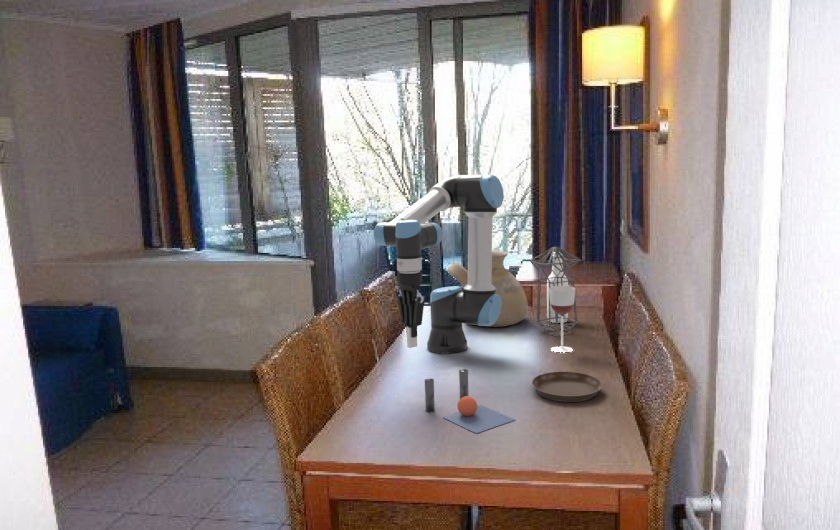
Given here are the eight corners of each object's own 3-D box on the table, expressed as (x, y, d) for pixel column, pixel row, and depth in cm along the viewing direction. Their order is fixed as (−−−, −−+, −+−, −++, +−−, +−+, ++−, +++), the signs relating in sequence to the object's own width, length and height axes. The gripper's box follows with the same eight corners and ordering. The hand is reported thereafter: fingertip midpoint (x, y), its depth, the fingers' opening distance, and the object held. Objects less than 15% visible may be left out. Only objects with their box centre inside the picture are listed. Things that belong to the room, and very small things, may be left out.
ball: (467, 417, 182) (455, 418, 186) (482, 413, 185) (470, 414, 190) (463, 397, 183) (451, 398, 187) (479, 393, 186) (467, 395, 190)
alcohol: (546, 318, 292) (546, 250, 287) (567, 318, 291) (567, 250, 286) (547, 323, 283) (547, 253, 279) (568, 323, 282) (568, 253, 277)
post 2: (458, 399, 199) (457, 370, 197) (464, 397, 200) (464, 368, 199) (463, 402, 197) (462, 372, 195) (470, 400, 198) (469, 370, 197)
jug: (532, 329, 276) (532, 257, 271) (450, 331, 276) (448, 259, 271) (523, 313, 304) (522, 247, 299) (448, 315, 305) (446, 250, 300)
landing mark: (443, 418, 185) (443, 417, 185) (481, 405, 193) (481, 405, 193) (476, 433, 174) (476, 433, 174) (515, 420, 182) (515, 419, 182)
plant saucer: (598, 408, 189) (598, 397, 189) (525, 401, 197) (525, 390, 196) (604, 384, 208) (605, 374, 208) (538, 379, 216) (538, 369, 215)
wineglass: (576, 346, 249) (576, 285, 245) (573, 354, 240) (573, 291, 236) (551, 345, 252) (551, 285, 248) (547, 352, 243) (547, 290, 239)
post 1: (423, 410, 192) (422, 379, 190) (431, 407, 193) (430, 377, 192) (429, 412, 190) (428, 382, 188) (436, 410, 191) (435, 380, 190)
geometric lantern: (552, 340, 259) (549, 250, 254) (530, 332, 273) (527, 247, 268) (585, 334, 265) (584, 246, 260) (562, 326, 279) (560, 243, 274)
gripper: (387, 270, 206) (390, 344, 210) (411, 275, 195) (414, 353, 199) (407, 267, 210) (410, 340, 214) (432, 272, 200) (434, 348, 203)
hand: (412, 346), depth 206 cm, fingers closed
